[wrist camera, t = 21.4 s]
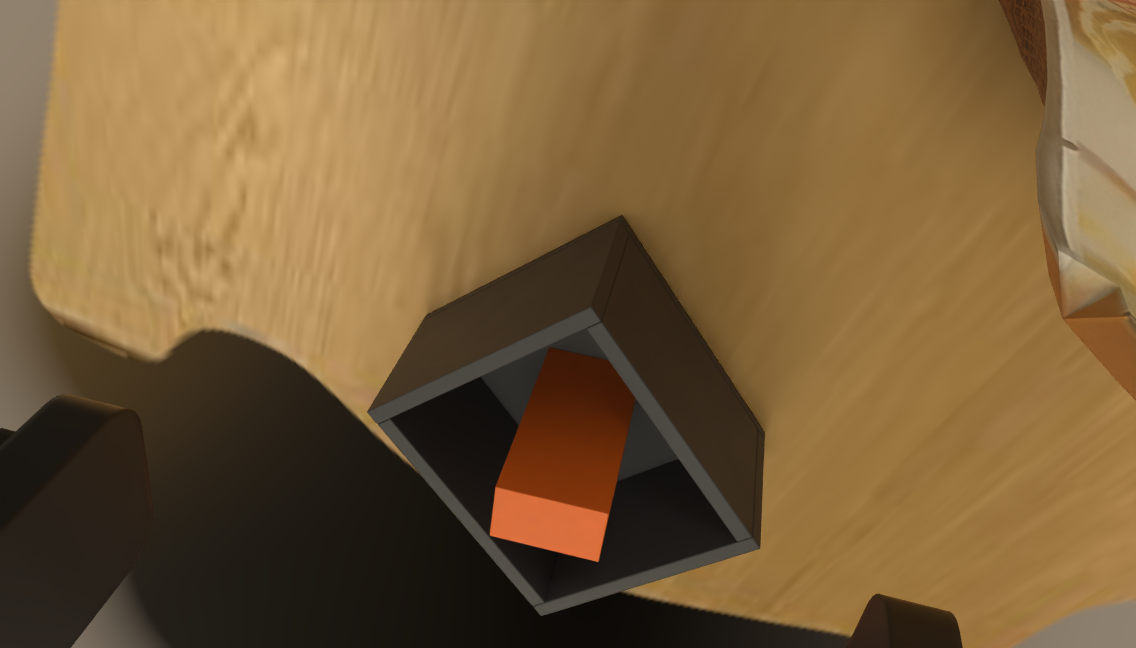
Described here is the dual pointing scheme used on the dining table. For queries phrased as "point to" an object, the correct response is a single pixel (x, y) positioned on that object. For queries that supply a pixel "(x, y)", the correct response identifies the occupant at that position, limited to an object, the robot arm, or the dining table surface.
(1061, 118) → the pancake mix bag
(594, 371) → the block
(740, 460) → the trash bin
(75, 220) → the dining table surface
